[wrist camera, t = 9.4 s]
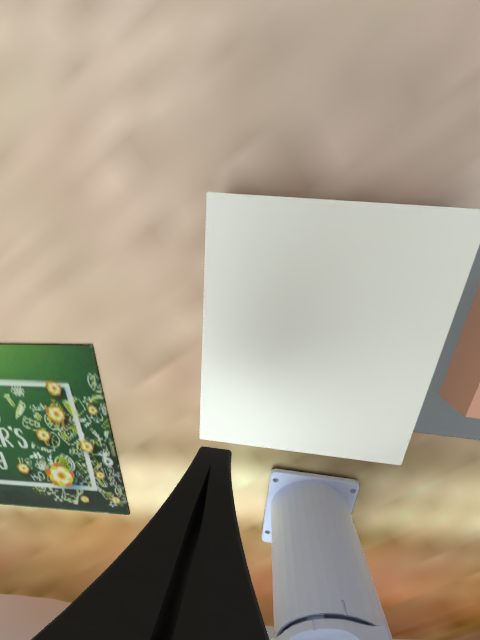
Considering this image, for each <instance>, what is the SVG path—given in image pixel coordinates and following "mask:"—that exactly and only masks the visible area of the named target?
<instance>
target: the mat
mask: <svg viewBox="0 0 480 640" xmlns="http://www.w3.org/2000/svg"><path fill="white" fill-rule="evenodd" d="M479 284H480V245H479V247H478V250H477V253H476V256H475V259H474V262H473V264H472V267H471V270H470V273H469V276H468V278H467V281H466V284H465V287H464V290H463V292H462V295H461V298H460V301H459V304H458V306H457V309H456V312H455V315H454V318H453V320H452V323H451V326H450V329H449V332H448V335H447V337H446V340H445V343H444V346H443V349H442V351H441V354H440V357H439V360H438V363H437V365H436V368H435V371H434V374H433V377H432V379H431V382H430V385H429V388H428V391H427V393H426V396H425V399H424V402H423V405H422V408H421V410H420V413H419V416H418V419H417V422H416V424H415V427H414V430H413V432H418V433H426V434H435V435H443V436H451V437H459V438H467V439H475V440H480V419H479V418H470V417H465V416H464V415H462V414H461V413H460V412H459V411H457V410H456V409H455V408H454V407H453V406H451V405H450V404H449V403H448V402H447V401H445V400H444V399H443V398H442V397H440V396H439V393H440V390H441V387H442V384H443V382H444V379H445V376H446V374H447V371H448V368H449V365H450V363H451V360H452V357H453V354H454V352H455V349H456V346H457V344H458V341H459V338H460V335H461V333H462V330H463V327H464V324H465V322H466V319H467V316H468V314H469V311H470V308H471V305H472V303H473V300H474V297H475V294H476V292H477V289H478V286H479Z"/></svg>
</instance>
